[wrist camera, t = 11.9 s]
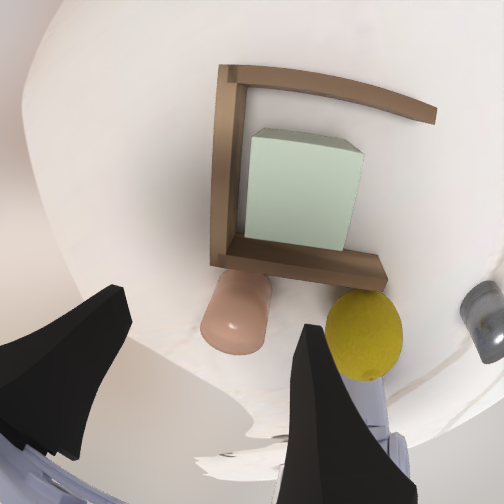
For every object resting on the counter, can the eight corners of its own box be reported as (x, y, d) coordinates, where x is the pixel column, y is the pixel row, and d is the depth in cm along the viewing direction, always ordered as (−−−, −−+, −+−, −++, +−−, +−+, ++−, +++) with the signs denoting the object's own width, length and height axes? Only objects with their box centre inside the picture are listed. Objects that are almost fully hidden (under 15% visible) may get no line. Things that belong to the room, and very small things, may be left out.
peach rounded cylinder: (268, 313, 23) (260, 359, 19) (217, 304, 23) (201, 348, 19) (275, 271, 20) (268, 318, 16) (218, 262, 21) (198, 305, 17)
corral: (373, 266, 19) (382, 291, 16) (221, 242, 20) (209, 265, 17) (415, 105, 12) (437, 108, 10) (232, 70, 13) (218, 64, 11)
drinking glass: (297, 468, 51) (291, 517, 39) (273, 466, 51) (264, 515, 38) (309, 464, 48) (303, 517, 35) (282, 461, 48) (274, 515, 35)
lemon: (397, 273, 19) (430, 352, 12) (374, 323, 22) (389, 400, 15) (332, 262, 19) (344, 348, 12) (315, 316, 22) (316, 398, 15)
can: (481, 320, 20) (502, 362, 15) (451, 318, 20) (472, 365, 15) (504, 283, 17) (531, 323, 12) (475, 278, 18) (504, 323, 13)
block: (331, 213, 17) (342, 251, 13) (257, 202, 18) (244, 237, 14) (345, 139, 15) (364, 154, 11) (264, 127, 15) (251, 136, 11)
